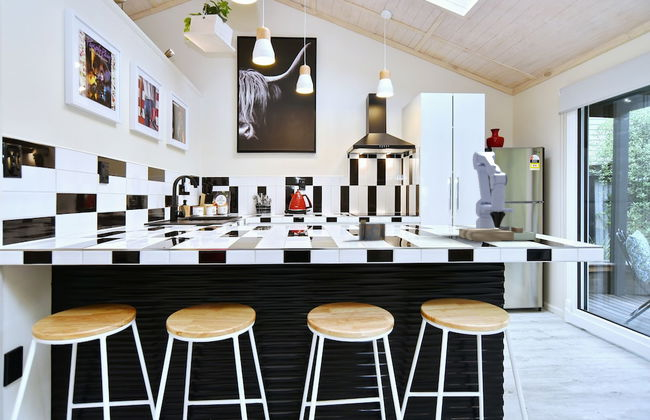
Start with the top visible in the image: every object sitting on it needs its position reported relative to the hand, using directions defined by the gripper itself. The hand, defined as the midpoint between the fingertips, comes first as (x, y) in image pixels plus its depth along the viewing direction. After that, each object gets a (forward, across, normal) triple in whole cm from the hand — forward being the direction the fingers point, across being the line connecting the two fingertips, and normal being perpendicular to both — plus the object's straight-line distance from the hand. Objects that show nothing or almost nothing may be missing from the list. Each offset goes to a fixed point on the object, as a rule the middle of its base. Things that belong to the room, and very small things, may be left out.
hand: (497, 227), depth 162 cm
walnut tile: (+2, +4, -7) cm, 8 cm away
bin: (+5, +6, -4) cm, 9 cm away
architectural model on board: (+6, -61, -7) cm, 61 cm away
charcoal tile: (+2, +2, -1) cm, 3 cm away
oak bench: (+5, -8, -4) cm, 10 cm away
